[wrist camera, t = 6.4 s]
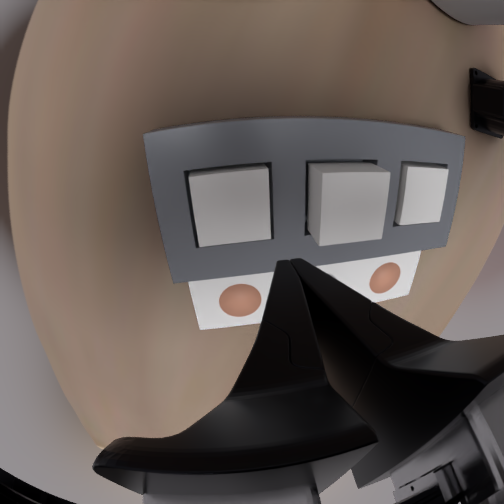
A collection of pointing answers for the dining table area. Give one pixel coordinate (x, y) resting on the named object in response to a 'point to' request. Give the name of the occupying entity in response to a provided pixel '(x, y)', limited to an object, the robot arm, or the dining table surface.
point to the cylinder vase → (474, 11)
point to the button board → (291, 186)
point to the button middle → (346, 202)
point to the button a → (231, 203)
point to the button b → (420, 192)
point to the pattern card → (258, 285)
